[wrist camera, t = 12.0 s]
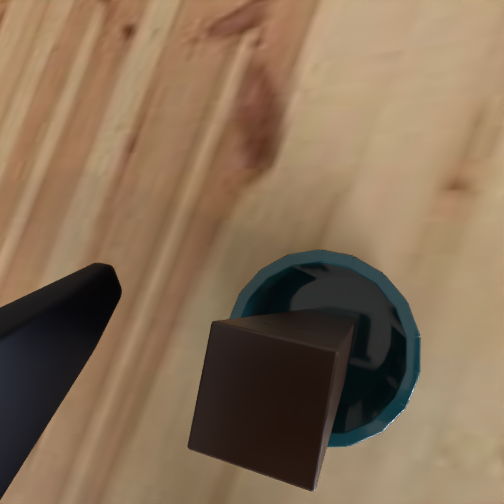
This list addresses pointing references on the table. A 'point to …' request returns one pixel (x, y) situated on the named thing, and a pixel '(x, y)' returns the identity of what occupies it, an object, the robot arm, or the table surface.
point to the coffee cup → (365, 336)
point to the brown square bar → (273, 392)
